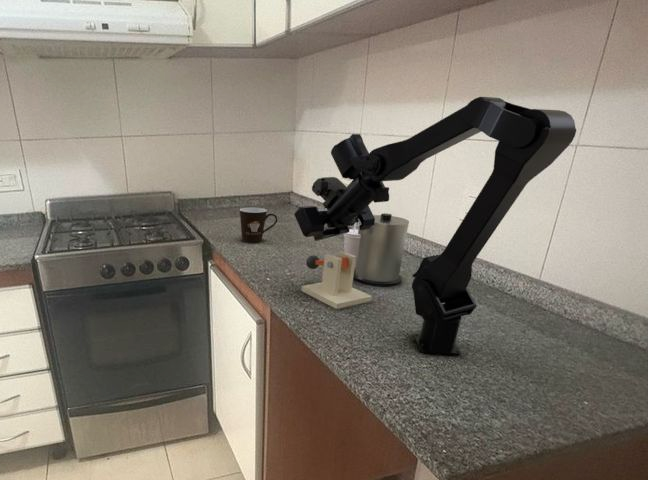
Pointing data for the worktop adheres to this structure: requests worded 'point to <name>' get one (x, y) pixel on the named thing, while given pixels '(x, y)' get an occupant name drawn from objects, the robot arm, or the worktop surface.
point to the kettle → (381, 252)
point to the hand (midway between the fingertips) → (315, 239)
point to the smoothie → (352, 242)
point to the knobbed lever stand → (337, 283)
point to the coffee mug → (253, 224)
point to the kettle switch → (315, 262)
